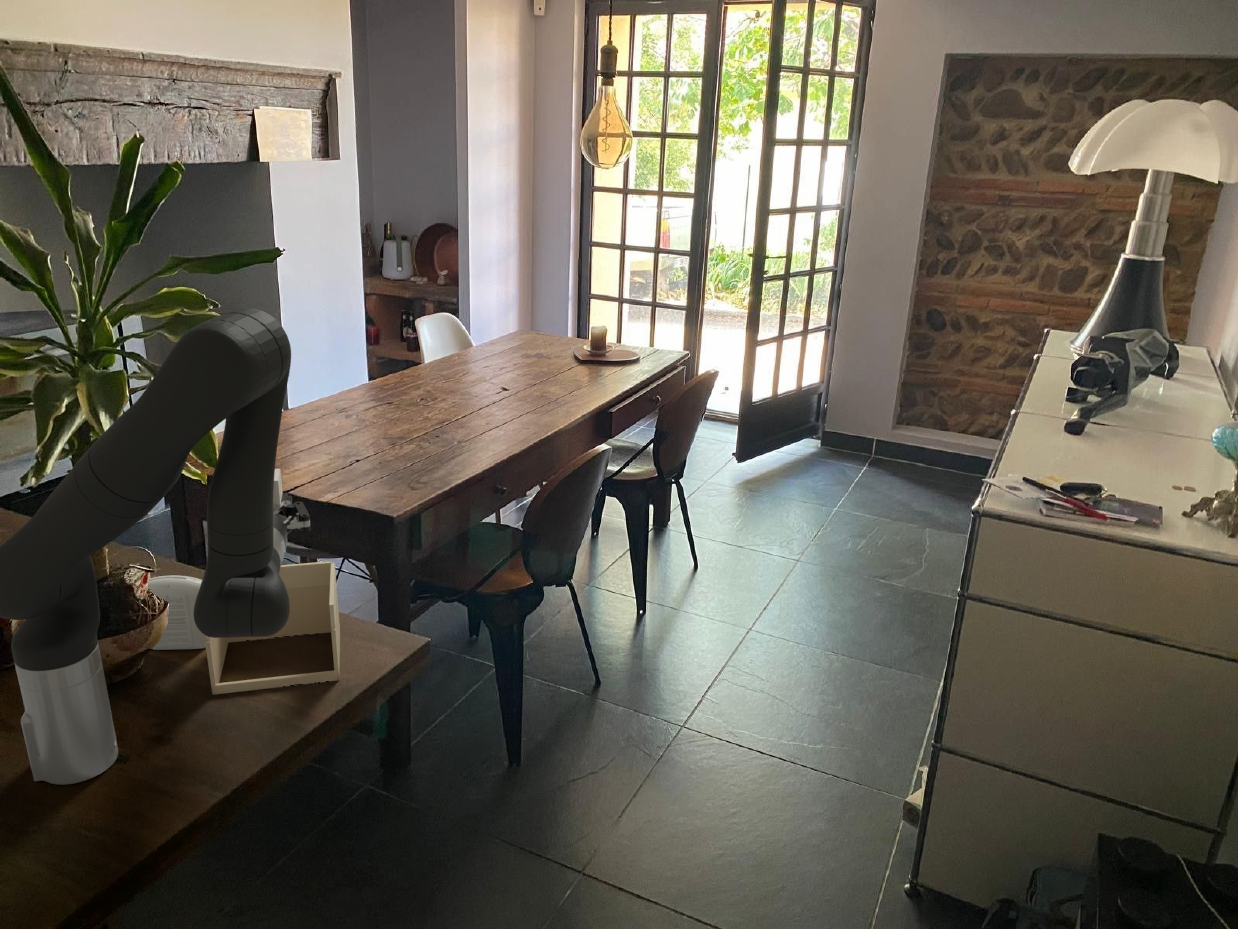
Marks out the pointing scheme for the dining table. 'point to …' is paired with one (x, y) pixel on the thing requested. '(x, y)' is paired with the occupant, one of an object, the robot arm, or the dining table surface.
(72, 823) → the dining table surface
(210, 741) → the dining table surface
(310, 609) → the storage bin
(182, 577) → the photo printer
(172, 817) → the dining table surface
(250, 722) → the dining table surface
